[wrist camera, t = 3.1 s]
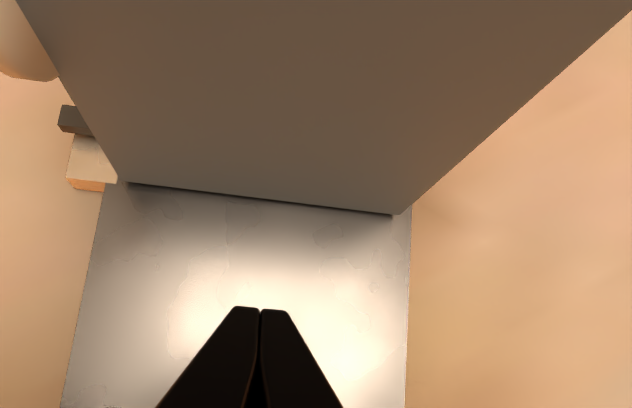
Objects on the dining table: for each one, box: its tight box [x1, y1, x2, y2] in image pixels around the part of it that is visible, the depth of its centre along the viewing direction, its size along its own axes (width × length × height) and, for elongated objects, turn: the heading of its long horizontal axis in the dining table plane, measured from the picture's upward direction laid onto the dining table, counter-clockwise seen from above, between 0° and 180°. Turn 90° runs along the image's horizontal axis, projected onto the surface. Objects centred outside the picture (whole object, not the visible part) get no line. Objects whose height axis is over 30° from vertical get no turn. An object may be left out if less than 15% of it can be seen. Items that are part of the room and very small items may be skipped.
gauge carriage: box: [0, 0, 632, 215], centre depth 11 cm, size 6×10×11 cm, turn 85°
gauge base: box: [60, 133, 412, 408], centre depth 18 cm, size 22×10×1 cm, turn 175°
